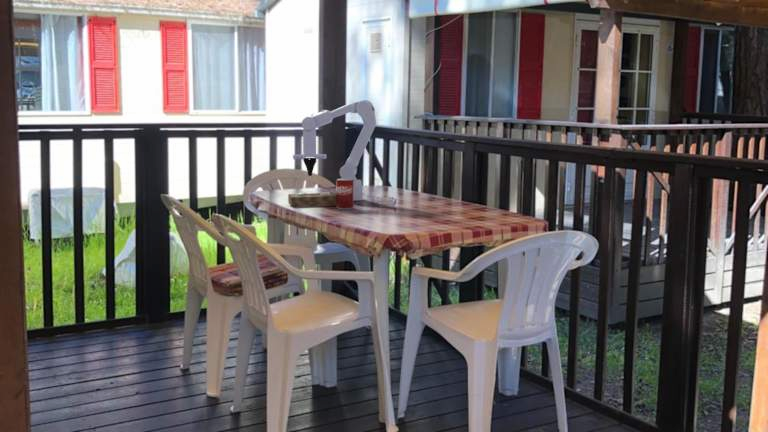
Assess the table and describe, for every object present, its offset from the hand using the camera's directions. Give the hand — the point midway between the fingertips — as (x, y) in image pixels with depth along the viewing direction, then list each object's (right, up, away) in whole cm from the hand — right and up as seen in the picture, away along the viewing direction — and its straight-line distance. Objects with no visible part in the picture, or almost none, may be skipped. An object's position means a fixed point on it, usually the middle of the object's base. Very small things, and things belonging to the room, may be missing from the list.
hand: (309, 175), depth 363 cm
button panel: (+3, -13, -14) cm, 19 cm away
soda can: (+17, -15, -24) cm, 32 cm away
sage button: (-2, -12, -15) cm, 19 cm away
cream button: (+8, -12, -13) cm, 19 cm away
